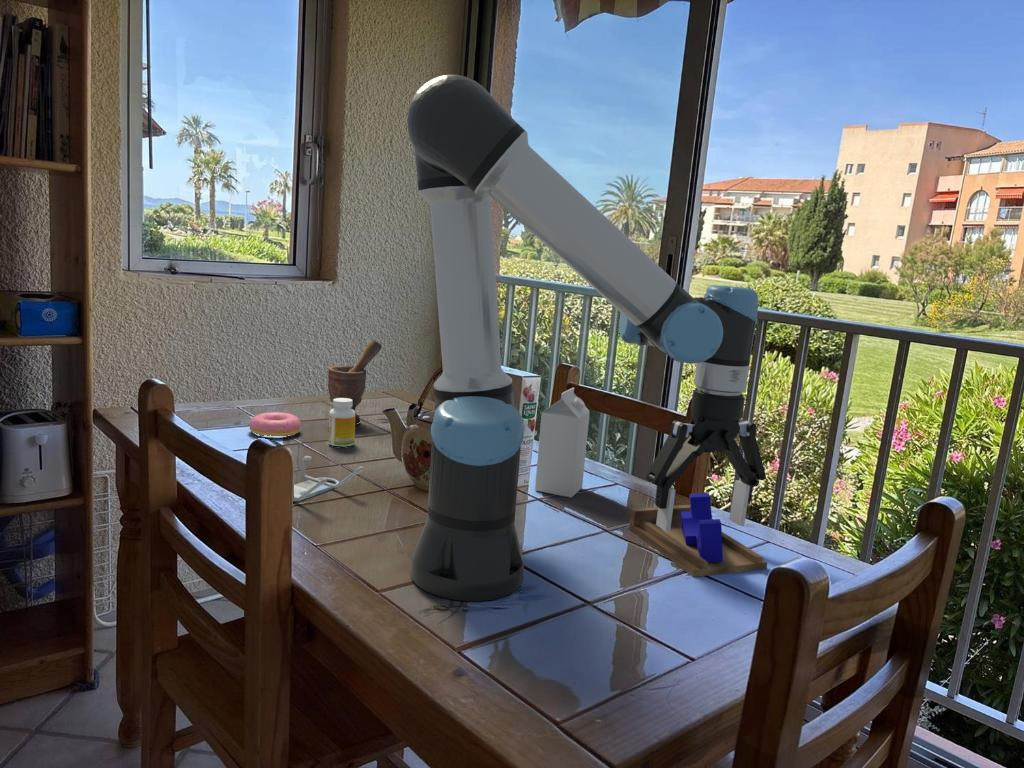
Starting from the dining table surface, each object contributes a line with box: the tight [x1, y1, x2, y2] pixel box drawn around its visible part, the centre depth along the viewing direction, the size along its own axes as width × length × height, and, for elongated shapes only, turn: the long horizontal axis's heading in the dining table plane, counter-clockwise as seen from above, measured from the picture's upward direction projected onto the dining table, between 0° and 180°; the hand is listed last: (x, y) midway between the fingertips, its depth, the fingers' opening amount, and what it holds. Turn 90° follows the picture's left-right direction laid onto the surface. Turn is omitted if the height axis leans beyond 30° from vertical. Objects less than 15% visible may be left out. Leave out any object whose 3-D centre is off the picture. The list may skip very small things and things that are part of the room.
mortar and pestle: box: [327, 340, 382, 424], centre depth 173 cm, size 12×9×20 cm
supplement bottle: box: [327, 398, 356, 447], centre depth 155 cm, size 5×5×10 cm
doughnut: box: [248, 411, 303, 436], centre depth 161 cm, size 11×11×4 cm
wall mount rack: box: [293, 455, 364, 503], centre depth 125 cm, size 16×14×6 cm
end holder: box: [628, 504, 768, 578], centre depth 115 cm, size 13×18×4 cm
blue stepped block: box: [681, 492, 723, 562], centre depth 113 cm, size 12×4×6 cm, turn 174°
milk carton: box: [534, 387, 591, 499], centre depth 137 cm, size 7×7×19 cm
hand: (700, 525), depth 114 cm, fingers open, 13 cm apart
